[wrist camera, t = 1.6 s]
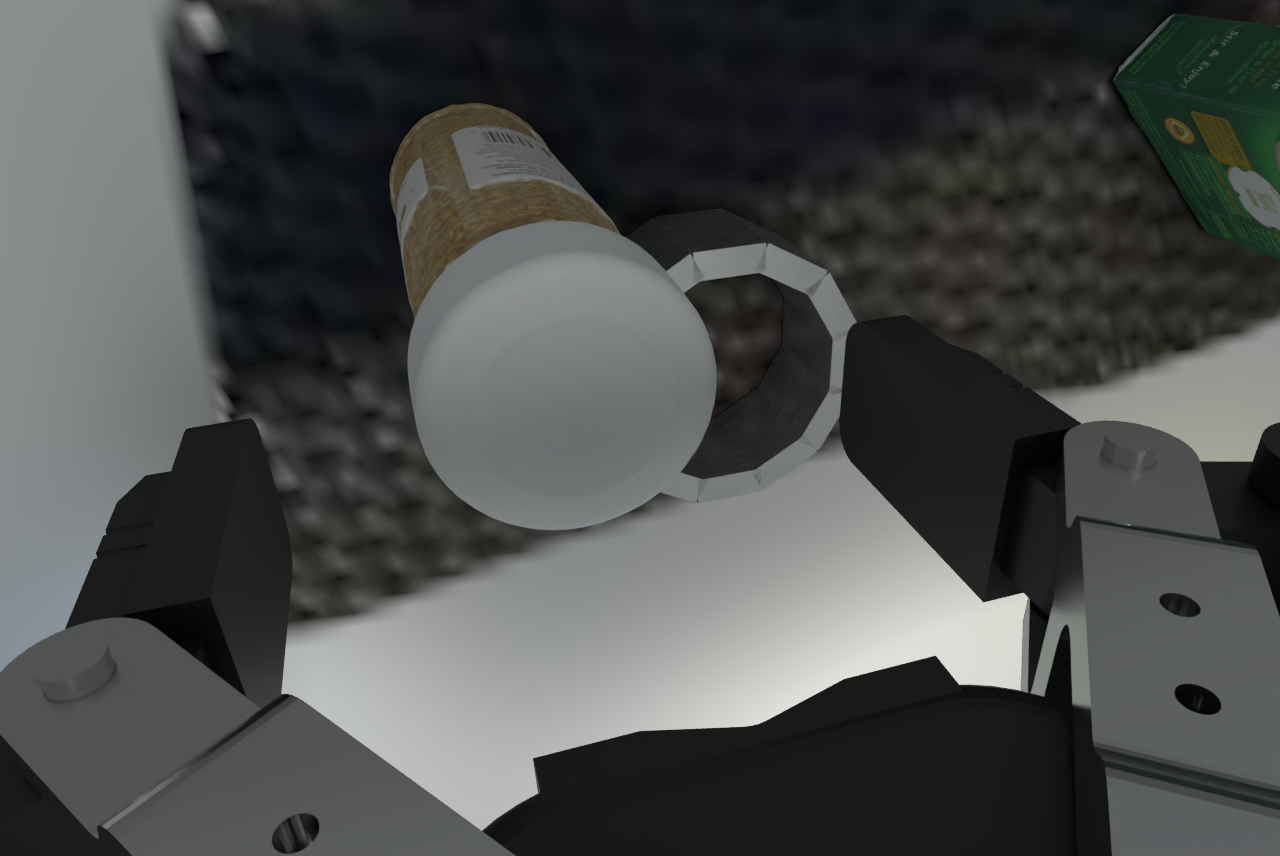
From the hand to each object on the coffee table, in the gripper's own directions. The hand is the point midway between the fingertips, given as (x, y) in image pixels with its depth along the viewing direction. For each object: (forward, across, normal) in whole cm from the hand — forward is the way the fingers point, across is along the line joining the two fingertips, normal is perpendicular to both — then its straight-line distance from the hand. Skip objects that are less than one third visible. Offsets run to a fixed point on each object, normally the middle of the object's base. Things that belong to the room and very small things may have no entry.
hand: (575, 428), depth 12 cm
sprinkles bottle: (+14, 0, 0) cm, 14 cm away
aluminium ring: (+14, -6, +6) cm, 16 cm away
